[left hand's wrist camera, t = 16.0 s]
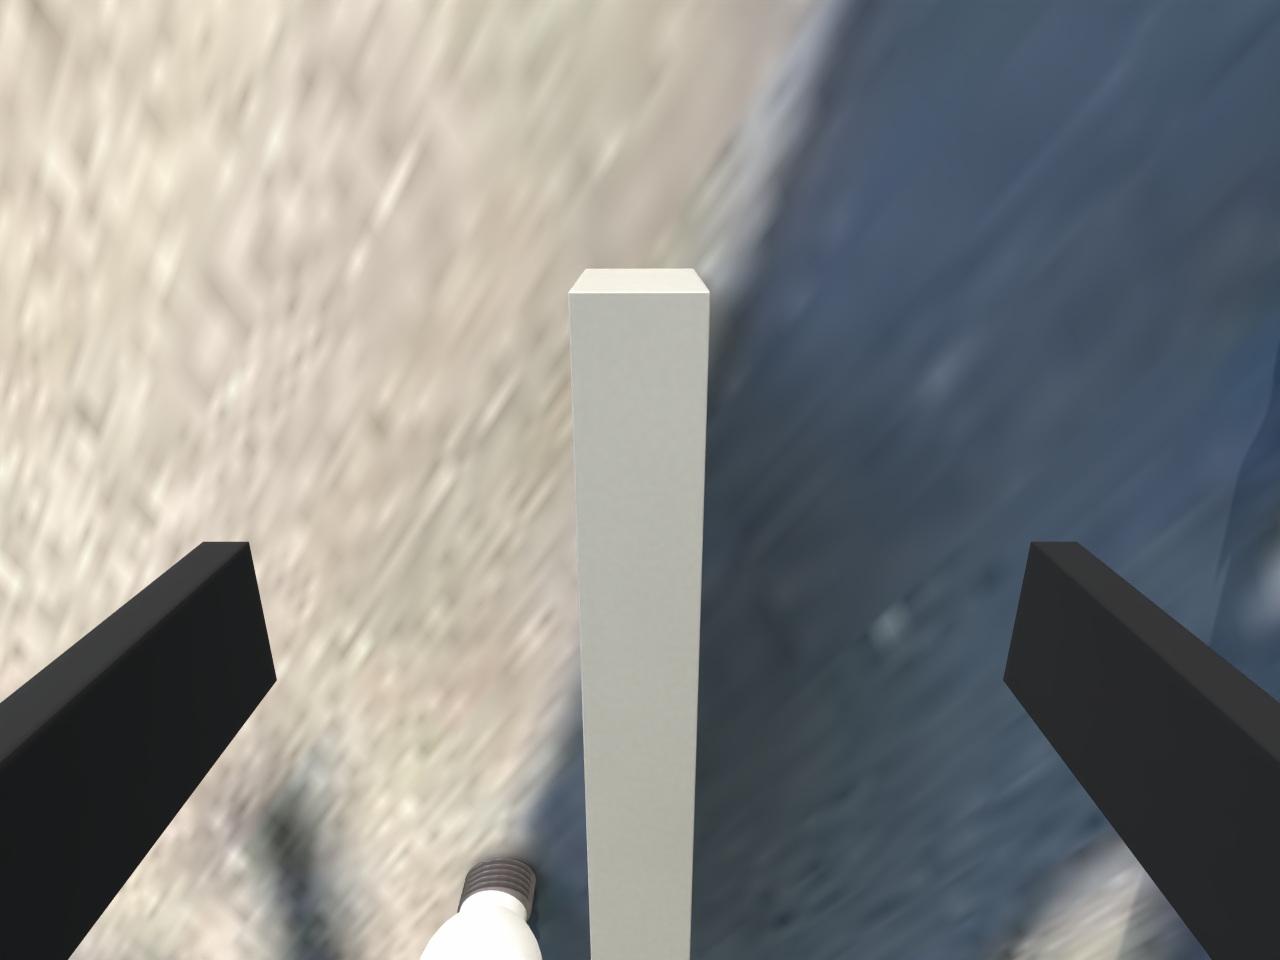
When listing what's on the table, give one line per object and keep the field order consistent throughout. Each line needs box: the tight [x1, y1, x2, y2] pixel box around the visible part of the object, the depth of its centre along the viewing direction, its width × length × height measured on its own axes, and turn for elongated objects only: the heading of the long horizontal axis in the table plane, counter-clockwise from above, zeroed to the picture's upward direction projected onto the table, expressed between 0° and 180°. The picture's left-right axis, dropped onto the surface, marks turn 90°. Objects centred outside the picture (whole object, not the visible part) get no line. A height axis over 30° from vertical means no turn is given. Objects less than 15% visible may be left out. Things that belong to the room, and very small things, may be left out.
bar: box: [568, 269, 710, 960], centre depth 35 cm, size 35×5×8 cm, turn 0°
